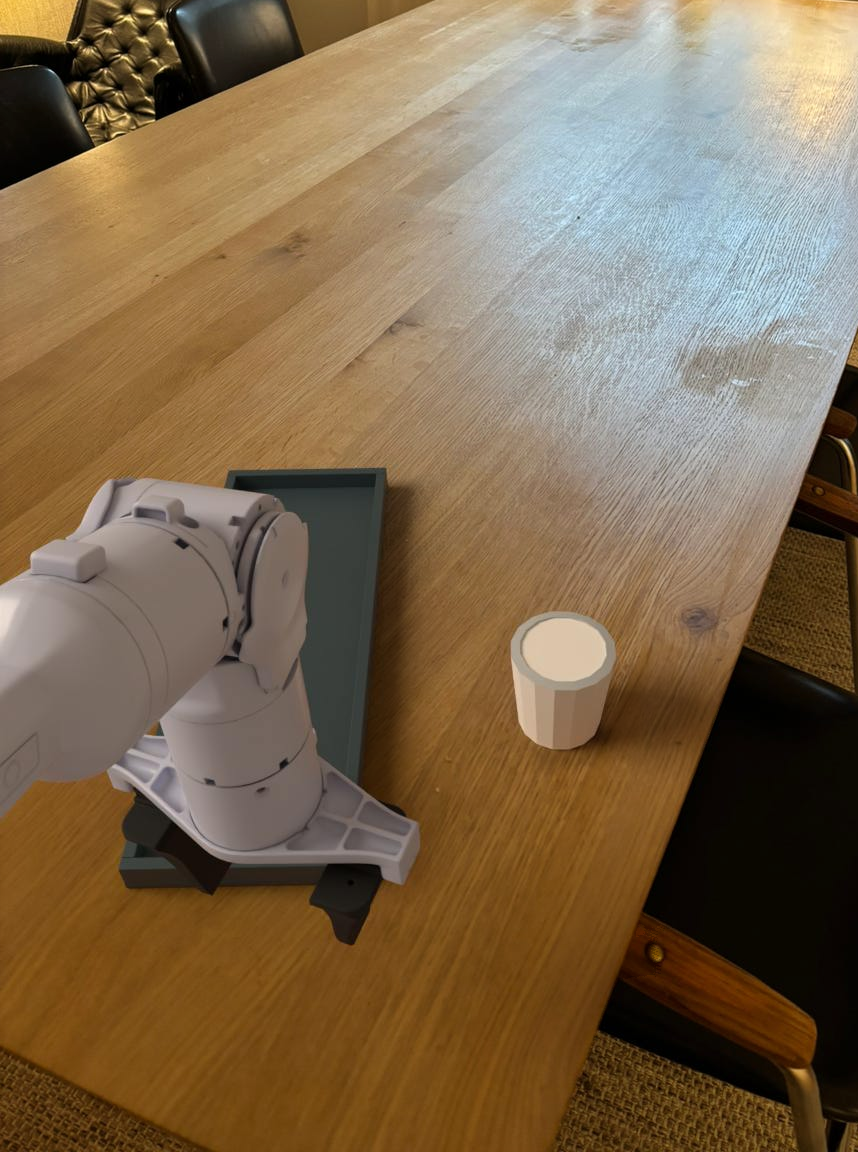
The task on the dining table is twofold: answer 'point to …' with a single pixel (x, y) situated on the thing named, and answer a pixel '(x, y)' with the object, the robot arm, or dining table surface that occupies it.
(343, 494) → the desk tray
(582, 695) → the white cup
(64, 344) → the dining table surface
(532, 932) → the dining table surface
